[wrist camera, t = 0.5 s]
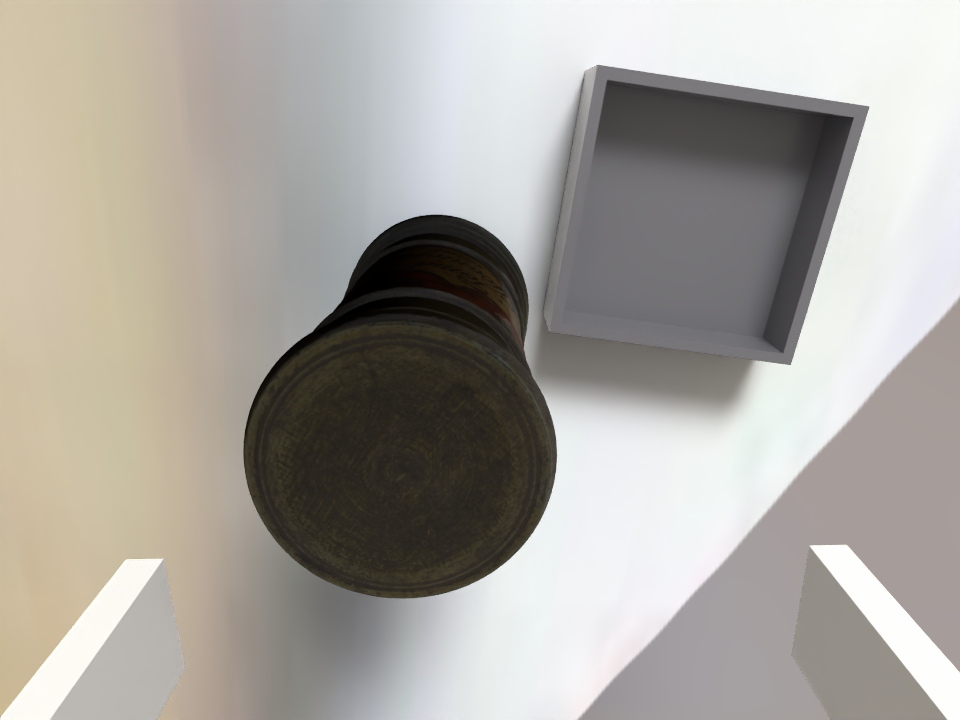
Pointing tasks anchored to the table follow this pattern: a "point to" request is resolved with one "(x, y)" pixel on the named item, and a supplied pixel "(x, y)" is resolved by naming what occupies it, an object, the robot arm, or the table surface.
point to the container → (408, 420)
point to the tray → (697, 213)
